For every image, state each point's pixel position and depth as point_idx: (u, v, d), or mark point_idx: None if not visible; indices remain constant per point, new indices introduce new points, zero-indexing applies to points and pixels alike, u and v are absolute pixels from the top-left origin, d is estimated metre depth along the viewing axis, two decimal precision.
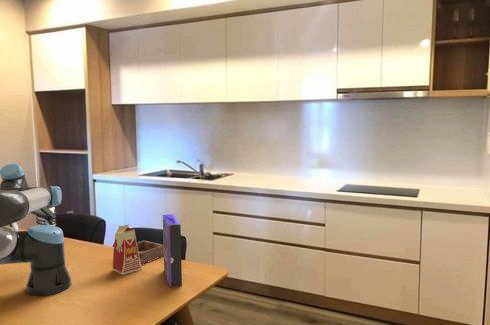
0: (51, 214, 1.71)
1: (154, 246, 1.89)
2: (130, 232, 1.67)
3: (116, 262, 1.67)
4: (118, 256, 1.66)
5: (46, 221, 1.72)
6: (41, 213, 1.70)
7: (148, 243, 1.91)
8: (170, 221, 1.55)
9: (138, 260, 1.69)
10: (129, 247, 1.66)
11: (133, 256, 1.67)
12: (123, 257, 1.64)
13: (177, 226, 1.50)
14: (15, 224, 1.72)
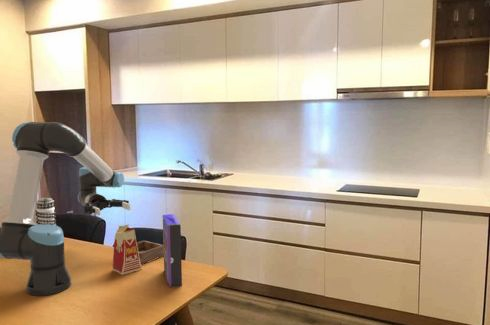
0: None
1: (154, 246, 1.89)
2: (130, 232, 1.67)
3: (116, 262, 1.67)
4: (118, 256, 1.66)
5: (122, 202, 1.84)
6: None
7: (148, 243, 1.91)
8: (170, 221, 1.55)
9: (138, 260, 1.69)
10: (129, 247, 1.66)
11: (133, 256, 1.67)
12: (123, 257, 1.64)
13: (177, 226, 1.50)
14: None
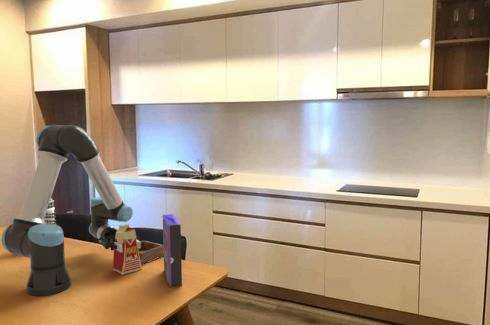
0: None
1: (154, 246, 1.89)
2: (130, 232, 1.67)
3: (116, 262, 1.67)
4: (118, 256, 1.66)
5: None
6: None
7: (148, 243, 1.91)
8: (170, 221, 1.55)
9: (138, 260, 1.69)
10: (129, 247, 1.66)
11: (133, 256, 1.67)
12: (123, 257, 1.64)
13: (177, 226, 1.50)
14: None
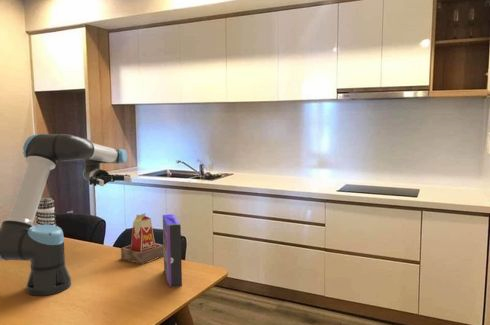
0: None
1: None
2: (147, 220, 1.82)
3: (134, 248, 1.82)
4: (135, 242, 1.81)
5: (124, 176, 1.98)
6: None
7: None
8: (170, 221, 1.55)
9: (154, 246, 1.83)
10: (146, 234, 1.81)
11: (149, 243, 1.81)
12: (140, 243, 1.79)
13: (177, 226, 1.50)
14: None
